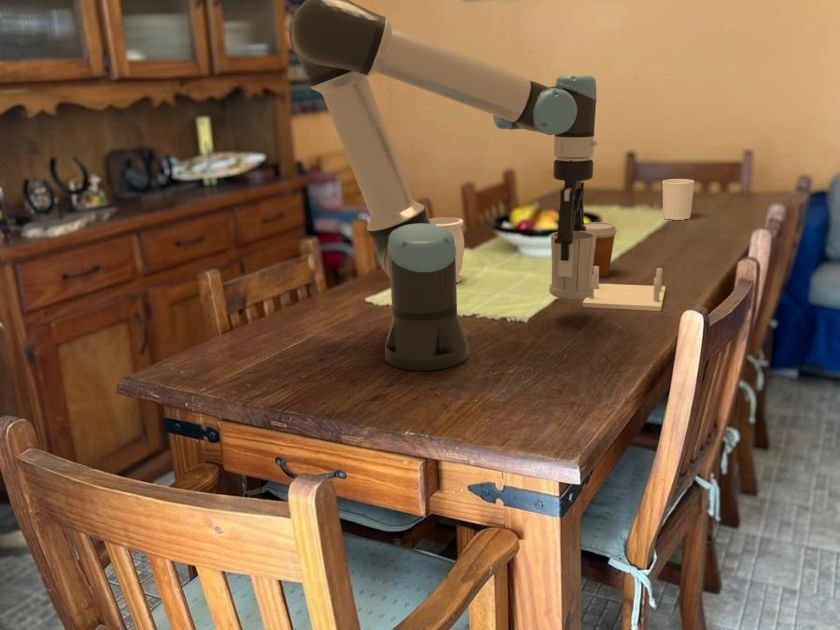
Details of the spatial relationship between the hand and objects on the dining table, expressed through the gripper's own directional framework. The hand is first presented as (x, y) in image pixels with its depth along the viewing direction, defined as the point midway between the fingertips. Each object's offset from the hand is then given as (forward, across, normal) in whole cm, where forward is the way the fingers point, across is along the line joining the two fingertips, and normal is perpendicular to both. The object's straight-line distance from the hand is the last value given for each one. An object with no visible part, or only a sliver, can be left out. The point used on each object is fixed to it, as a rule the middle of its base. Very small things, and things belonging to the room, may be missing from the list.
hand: (569, 269), depth 163 cm
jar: (+11, +24, +34) cm, 43 cm away
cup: (+5, -1, 0) cm, 5 cm away
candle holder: (+9, +112, -17) cm, 114 cm away
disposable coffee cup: (+10, +38, -1) cm, 39 cm away
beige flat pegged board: (+10, +16, -10) cm, 21 cm away
